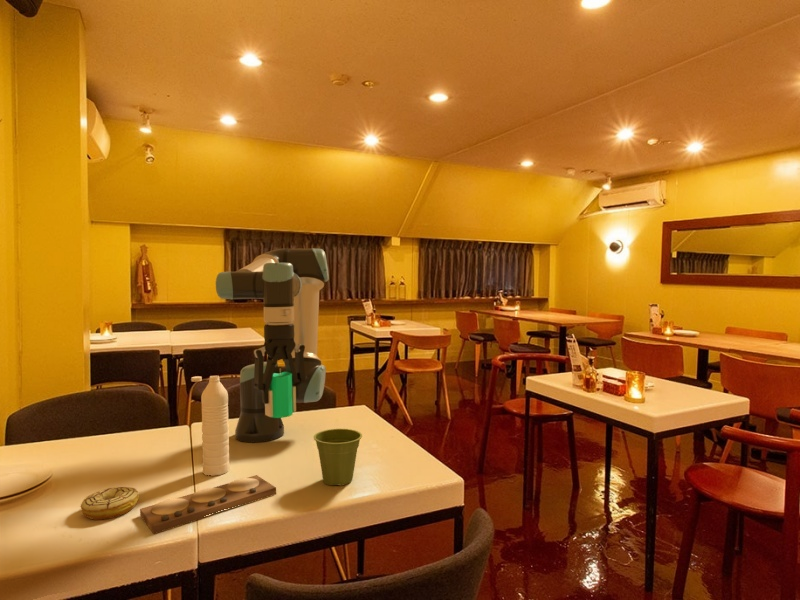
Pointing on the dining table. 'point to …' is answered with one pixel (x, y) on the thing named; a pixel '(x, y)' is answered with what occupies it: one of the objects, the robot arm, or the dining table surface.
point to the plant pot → (337, 454)
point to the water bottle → (214, 427)
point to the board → (205, 503)
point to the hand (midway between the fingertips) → (280, 412)
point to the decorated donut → (109, 503)
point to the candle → (282, 394)
